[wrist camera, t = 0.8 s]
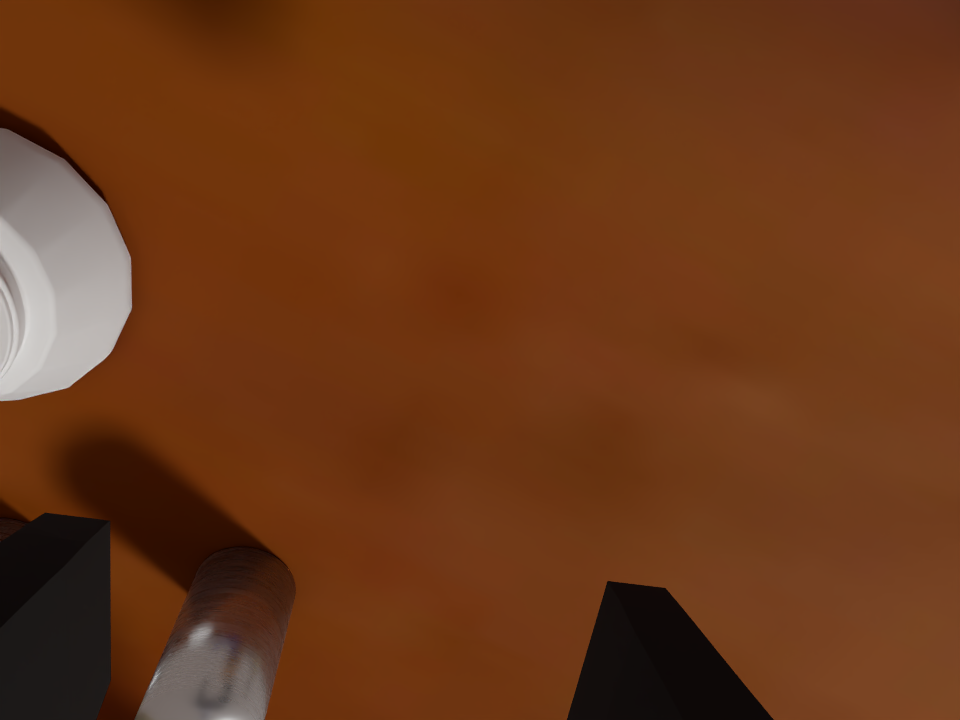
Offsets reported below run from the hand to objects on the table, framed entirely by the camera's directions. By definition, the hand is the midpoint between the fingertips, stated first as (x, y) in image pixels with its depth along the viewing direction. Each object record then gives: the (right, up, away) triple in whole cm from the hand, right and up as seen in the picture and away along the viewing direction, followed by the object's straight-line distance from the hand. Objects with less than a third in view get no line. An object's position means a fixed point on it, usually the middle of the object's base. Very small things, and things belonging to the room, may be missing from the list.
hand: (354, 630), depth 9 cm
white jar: (-8, +5, +7) cm, 11 cm away
